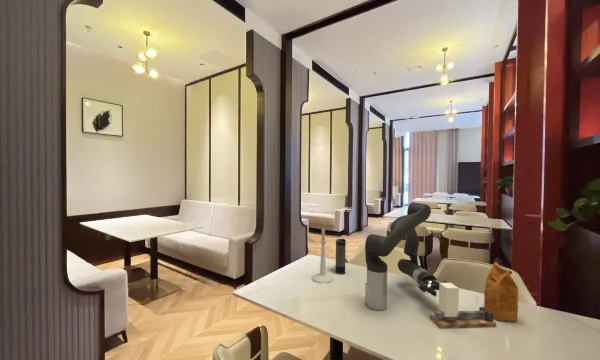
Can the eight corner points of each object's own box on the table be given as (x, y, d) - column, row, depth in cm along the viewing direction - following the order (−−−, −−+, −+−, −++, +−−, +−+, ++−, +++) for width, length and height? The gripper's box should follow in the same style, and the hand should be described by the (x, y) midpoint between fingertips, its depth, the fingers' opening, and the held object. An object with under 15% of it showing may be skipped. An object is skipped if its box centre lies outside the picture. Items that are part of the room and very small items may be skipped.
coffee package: (504, 309, 116) (506, 262, 115) (521, 324, 104) (522, 272, 103) (480, 306, 118) (481, 260, 118) (493, 321, 106) (494, 269, 106)
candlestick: (335, 283, 141) (335, 231, 141) (312, 283, 141) (312, 230, 141) (332, 274, 154) (332, 226, 154) (311, 274, 154) (312, 226, 154)
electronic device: (345, 274, 154) (345, 242, 154) (335, 273, 155) (335, 242, 155) (345, 269, 163) (345, 238, 163) (336, 268, 165) (336, 238, 164)
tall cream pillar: (446, 318, 102) (446, 288, 101) (438, 311, 107) (439, 282, 106) (458, 317, 102) (458, 288, 102) (450, 311, 107) (450, 282, 107)
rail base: (439, 328, 101) (439, 316, 100) (429, 318, 108) (429, 306, 107) (496, 326, 102) (496, 314, 102) (482, 317, 109) (483, 305, 109)
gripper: (410, 271, 122) (429, 285, 106) (438, 270, 123) (461, 285, 107) (410, 286, 122) (429, 303, 106) (438, 285, 123) (461, 302, 107)
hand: (445, 294), depth 106 cm, fingers open, 8 cm apart
